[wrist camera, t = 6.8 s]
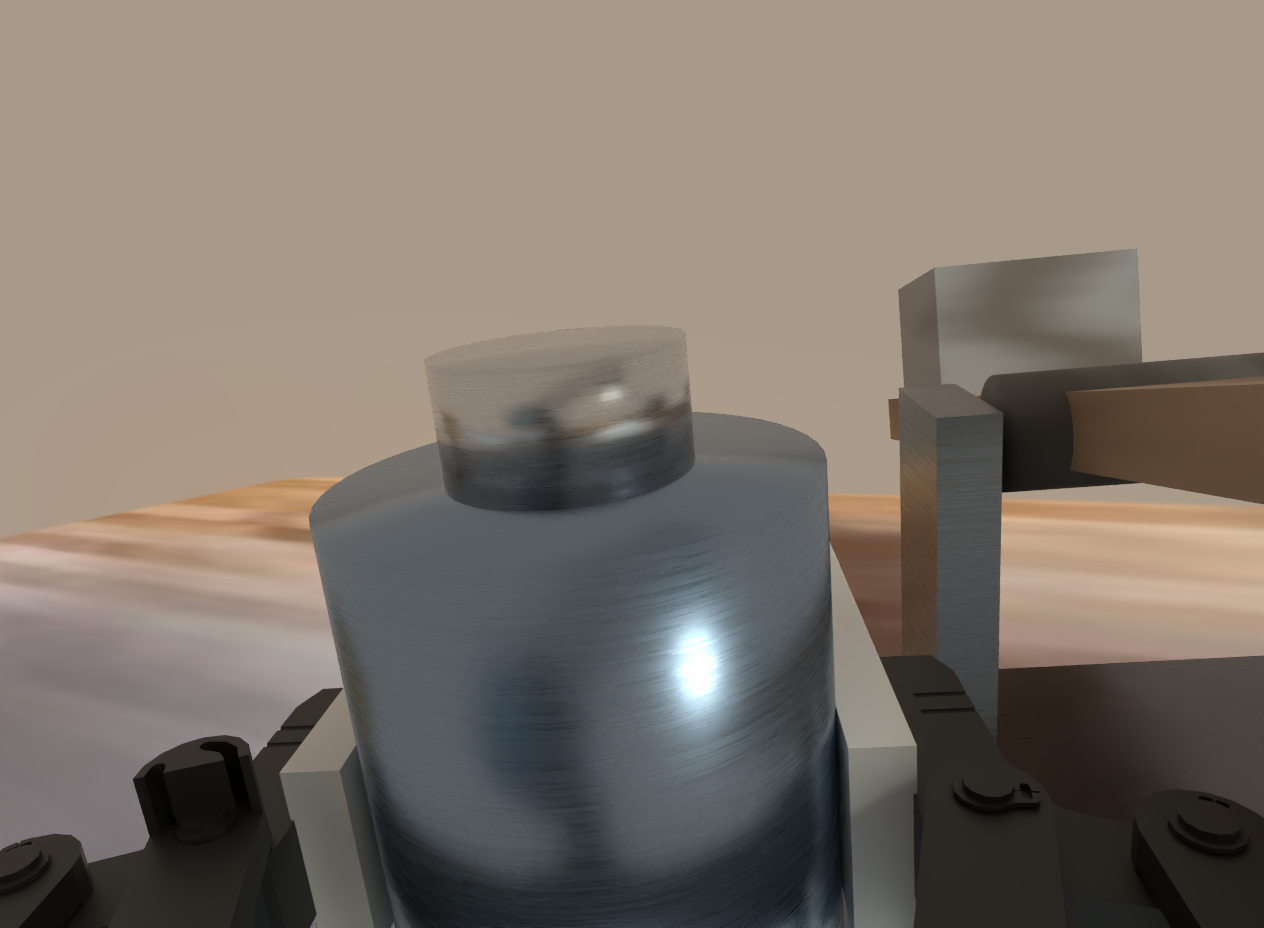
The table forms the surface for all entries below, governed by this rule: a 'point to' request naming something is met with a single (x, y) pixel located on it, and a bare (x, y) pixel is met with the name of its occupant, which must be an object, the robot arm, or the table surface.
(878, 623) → the table surface
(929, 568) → the stand
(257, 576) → the table surface
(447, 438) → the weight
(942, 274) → the beam
